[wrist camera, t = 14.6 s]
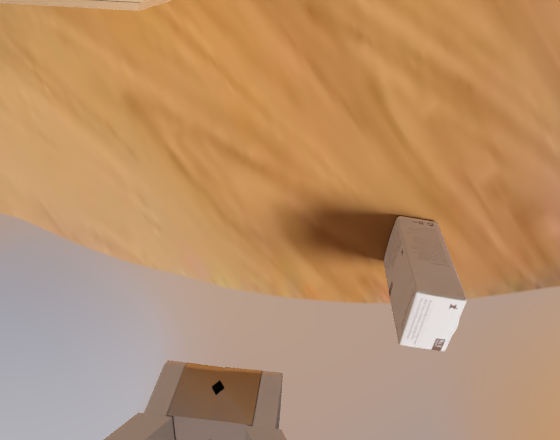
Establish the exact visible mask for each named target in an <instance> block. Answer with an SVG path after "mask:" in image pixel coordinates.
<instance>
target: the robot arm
mask: <svg viewBox="0 0 560 440" xmlns="http://www.w3.org/2000/svg"><path fill="white" fill-rule="evenodd" d="M282 377H283V376H282V373H277V372H267V371H259V370H249V369H239V368H229V367H225V368H223V367H215V366H208V365H201V364H193V363H184V362H176V361H167V362H166V364H165V365H164V367H163V369H162V372H161V374H160V376H159V379H158V381H157V384H156V386H155V388H154V391H153V393H152V396H151V398H150V400H149V403H148V405H147V408H146V410H145V412H144V413H138V414H137V415H135V416H134V417H132V418H131V419H130V420H129V421H127V422H126V423H125V424H124V425H122V426H121V427H120V428H118V429H117V430H116V431H114V432H113V433H112V434H110V435H109V436H108V437H107V438H105V439H104V440H286V438H285V436H284V434H283V432H282V430H280V429H279V421H280V408H281V393H282Z"/></svg>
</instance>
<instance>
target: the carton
mask: <svg viewBox="0 0 560 440" xmlns="http://www.w3.org/2000/svg"><path fill="white" fill-rule="evenodd" d="M169 1H172V0H0V3H6V4H25V5H43V6H62V7H80V8H99V9H117V10H136V11H140V10H143V9H146V8H150V7H153V6H156V5H159V4H162V3H166V2H169Z"/></svg>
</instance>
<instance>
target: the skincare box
mask: <svg viewBox="0 0 560 440" xmlns="http://www.w3.org/2000/svg"><path fill="white" fill-rule="evenodd" d="M384 267H385V273H386V278H387V283H388V289H389V295H390V300H391V305H392V310H393V316H394V321H395V326H396V331H397V337H398V342H399V344H400V345H405V346H411V347H417V348H424V349H431V350H438V351H445V350H446V348H447V345H448V343H449V340H450V338H451V336H452V335H453V333H454V332H455V330H456V328H457V326H458V323H459V317H460V315H461V313H462V311H463V308H464V306H465V304H466V301H467V299H466V296H465V293H464V290H463V288H462V285H461V283H460V280H459V277H458V275H457V272H456V270H455V267H454V265H453V262H452V259H451V257H450V254H449V251H448V249H447V246H446V243H445V241H444V238H443V236H442V233H441V230H440V228H439V225H438V223H437V222H433V221H428V220H422V219H416V218H410V217H403V216H398V218H397V219H396V221H395V224H394V227H393V229H392V232H391V235H390V239H389V242H388V246H387V249H386V253H385V257H384Z"/></svg>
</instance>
